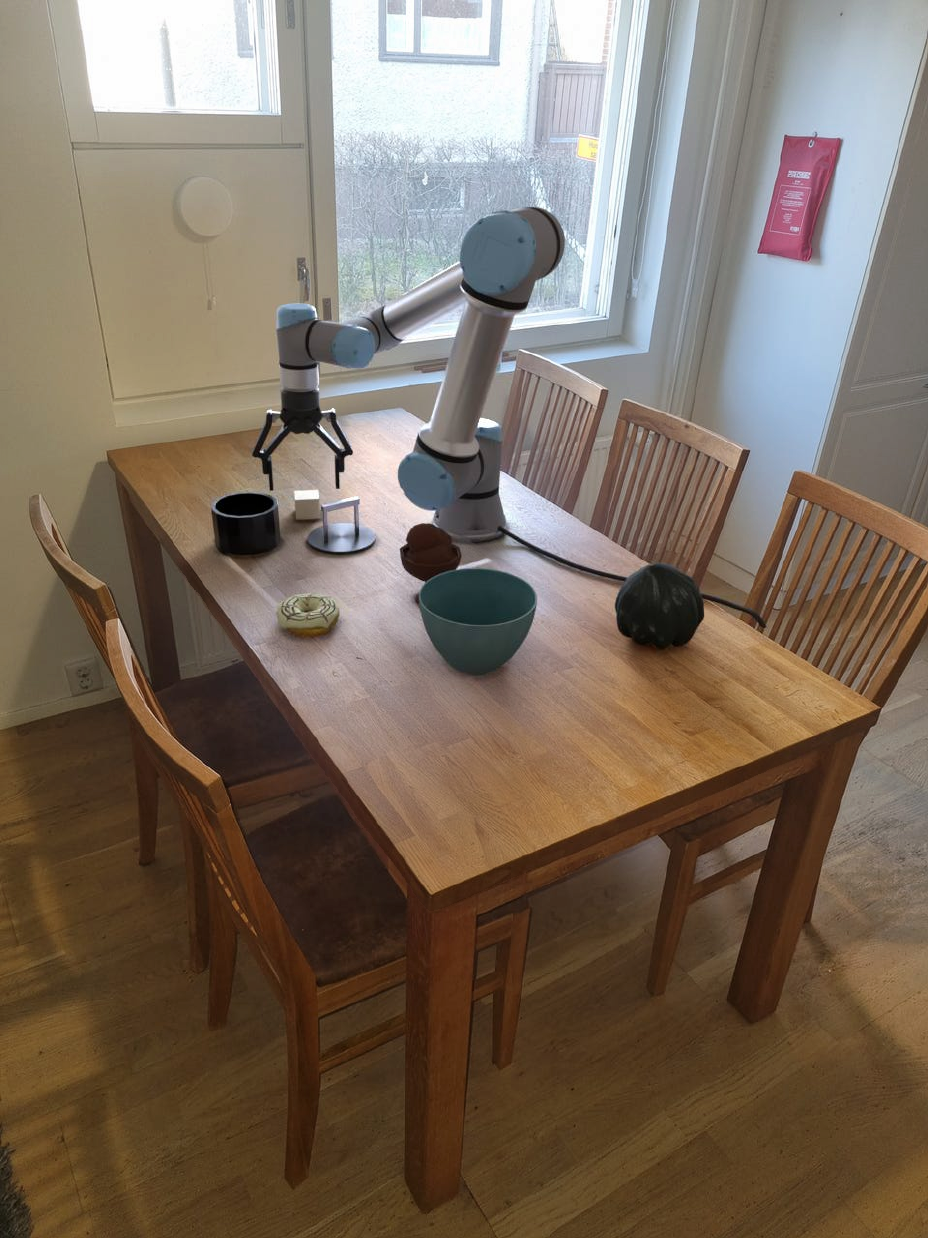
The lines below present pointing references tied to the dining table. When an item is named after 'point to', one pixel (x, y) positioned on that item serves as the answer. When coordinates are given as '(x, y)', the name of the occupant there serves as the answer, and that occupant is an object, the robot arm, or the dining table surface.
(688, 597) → the squash
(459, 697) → the dining table surface
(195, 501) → the dining table surface
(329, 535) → the lid
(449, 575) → the teal bowl
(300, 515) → the block
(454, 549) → the ice cream bowl
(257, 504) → the pot
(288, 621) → the decorated donut
